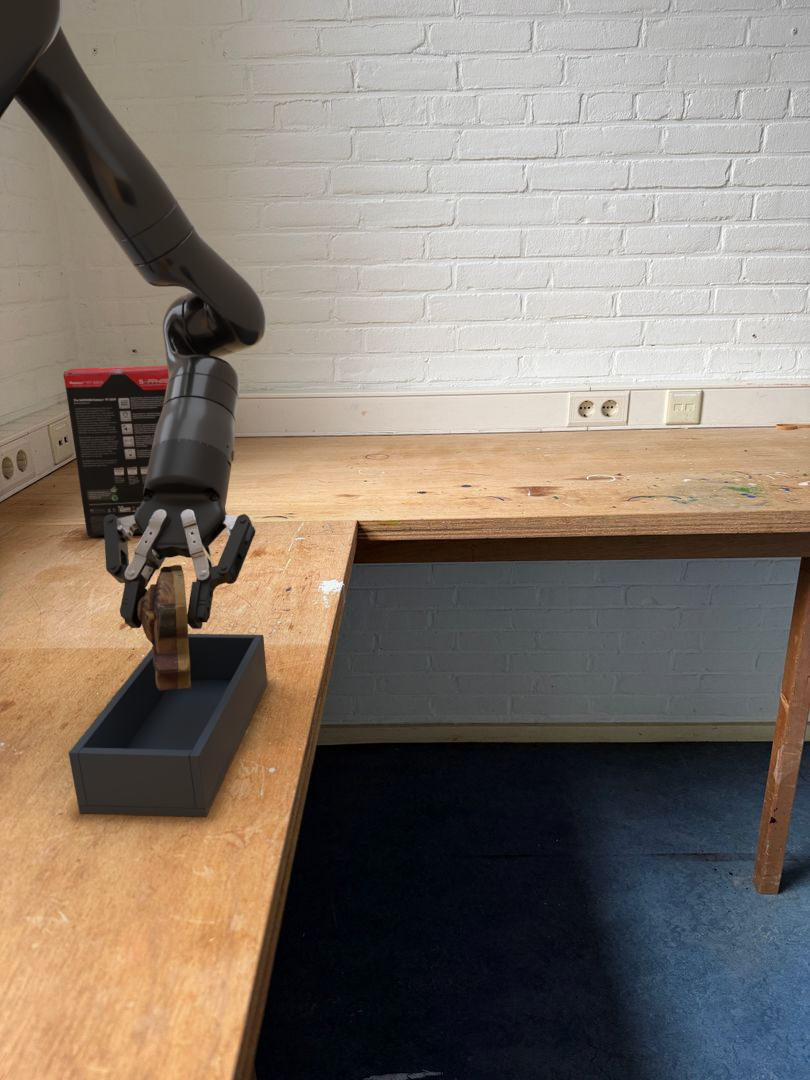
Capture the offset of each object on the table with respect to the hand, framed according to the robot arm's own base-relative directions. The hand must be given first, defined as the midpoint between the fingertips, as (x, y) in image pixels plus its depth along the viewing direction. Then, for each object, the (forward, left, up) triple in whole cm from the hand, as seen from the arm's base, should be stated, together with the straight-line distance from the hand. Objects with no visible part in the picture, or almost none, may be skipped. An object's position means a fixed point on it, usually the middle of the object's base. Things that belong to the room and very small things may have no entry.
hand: (163, 624), depth 69 cm
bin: (0, +2, -13) cm, 13 cm away
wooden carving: (0, +2, -6) cm, 7 cm away
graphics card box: (-28, +64, -13) cm, 71 cm away
